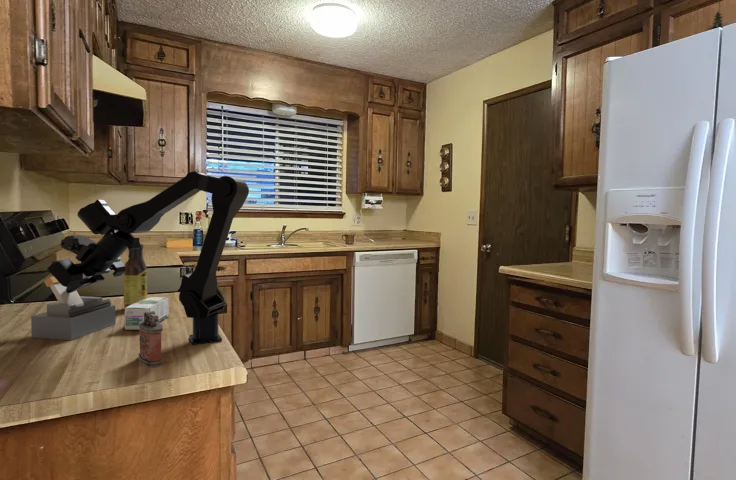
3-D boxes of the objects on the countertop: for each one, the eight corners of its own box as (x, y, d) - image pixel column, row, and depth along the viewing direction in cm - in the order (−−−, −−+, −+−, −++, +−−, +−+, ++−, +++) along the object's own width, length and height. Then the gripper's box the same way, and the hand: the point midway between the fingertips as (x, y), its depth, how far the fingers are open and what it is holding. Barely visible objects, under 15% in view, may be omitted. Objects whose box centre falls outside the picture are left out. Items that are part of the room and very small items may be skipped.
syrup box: (148, 316, 116) (124, 331, 102) (147, 296, 116) (123, 308, 101) (169, 316, 117) (148, 331, 102) (168, 295, 116) (147, 307, 102)
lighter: (135, 357, 84) (135, 309, 83) (152, 353, 86) (153, 307, 86) (147, 368, 78) (147, 317, 78) (166, 364, 81) (166, 314, 80)
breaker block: (115, 324, 107) (115, 296, 107) (71, 340, 93) (71, 308, 93) (80, 321, 108) (79, 294, 108) (31, 337, 94) (31, 305, 94)
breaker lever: (87, 305, 103) (69, 273, 103) (69, 310, 97) (50, 277, 97) (81, 309, 103) (63, 277, 103) (63, 314, 98) (43, 281, 98)
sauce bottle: (146, 310, 123) (146, 244, 122) (122, 311, 120) (122, 244, 119) (147, 305, 129) (148, 242, 128) (124, 306, 126) (124, 242, 125)
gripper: (114, 223, 108) (77, 263, 110) (53, 225, 89) (9, 273, 91) (143, 254, 108) (104, 293, 109) (87, 262, 89) (42, 309, 91)
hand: (68, 291), depth 100 cm, fingers closed
